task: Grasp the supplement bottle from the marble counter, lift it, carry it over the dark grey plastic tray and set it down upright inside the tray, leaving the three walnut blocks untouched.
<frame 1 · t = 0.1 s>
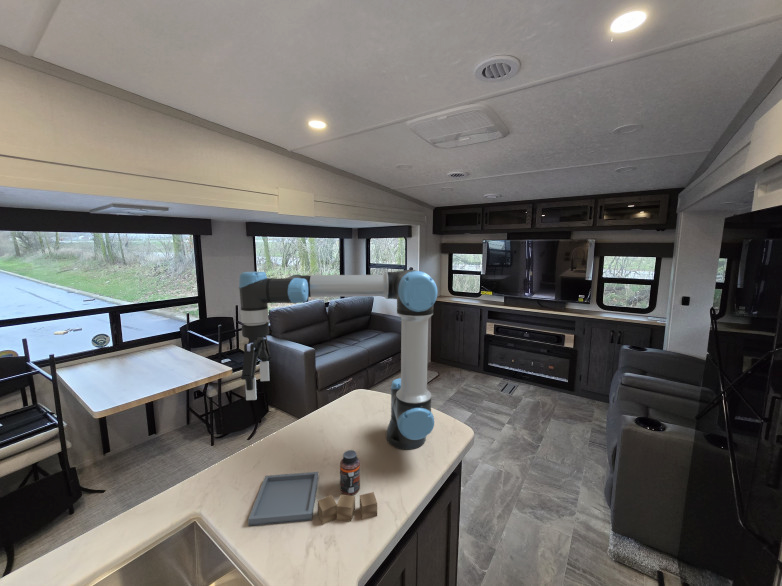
hand: (258, 389, 97), 28 cm above the counter, fingers open, 13 cm apart
block c: (327, 516, 84), on the counter, touching block b
block b: (346, 514, 84), on the counter, touching block c
tray: (287, 499, 89), on the counter
supplement bottle: (350, 489, 93), on the counter
block a: (368, 512, 85), on the counter
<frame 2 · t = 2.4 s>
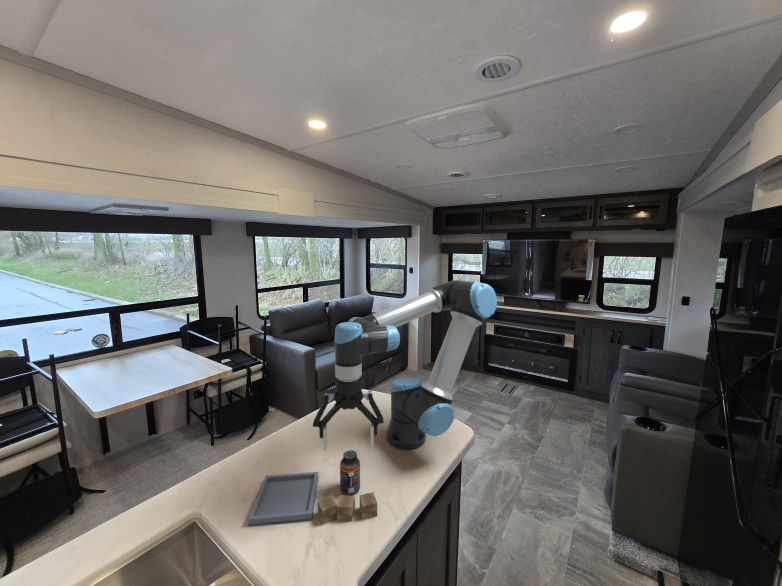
hand: (348, 446, 91), 14 cm above the counter, fingers open, 13 cm apart
nothing on the counter moved.
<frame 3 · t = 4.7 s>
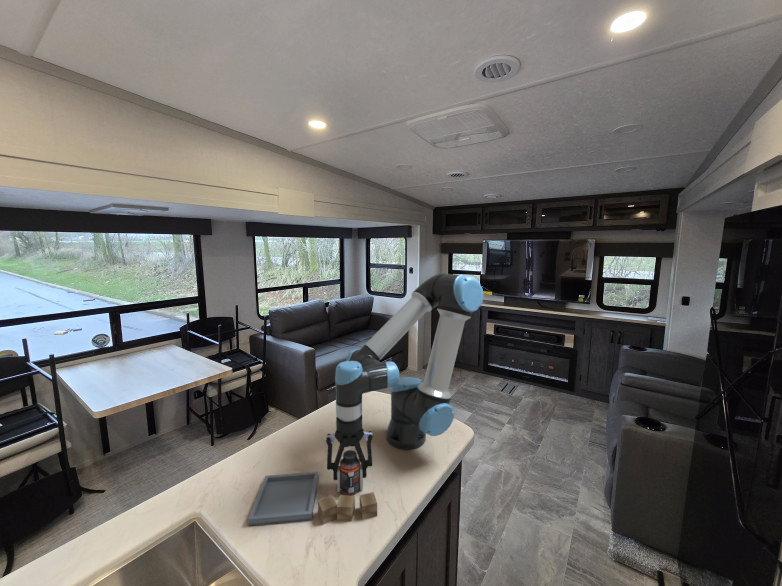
hand: (350, 487, 93), 0 cm above the counter, fingers closed on supplement bottle, 6 cm apart
block c: (327, 516, 84), on the counter
block b: (346, 514, 84), on the counter
supplement bottle: (350, 489, 93), on the counter, touching gripper
everything else where it was.
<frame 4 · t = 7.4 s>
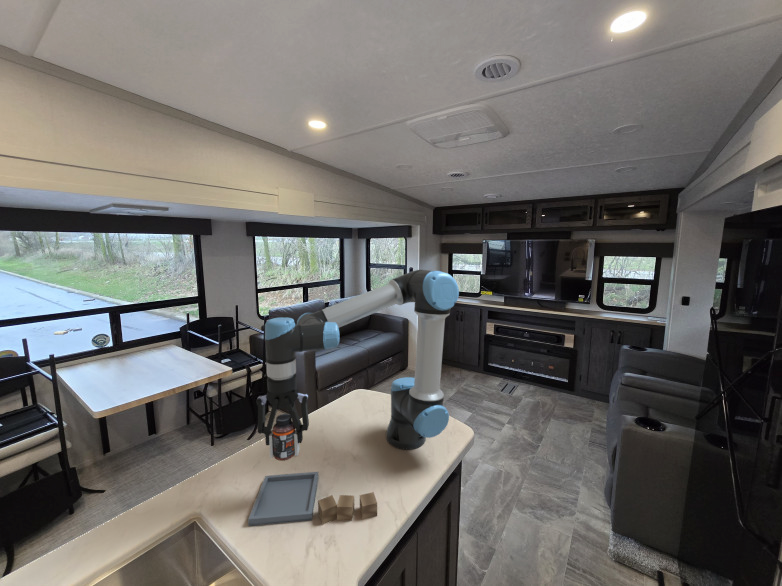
hand: (285, 453, 87), 14 cm above the counter, fingers closed on supplement bottle, 6 cm apart
supplement bottle: (285, 455, 87), point 14 cm above the counter, touching gripper
everything else where it was.
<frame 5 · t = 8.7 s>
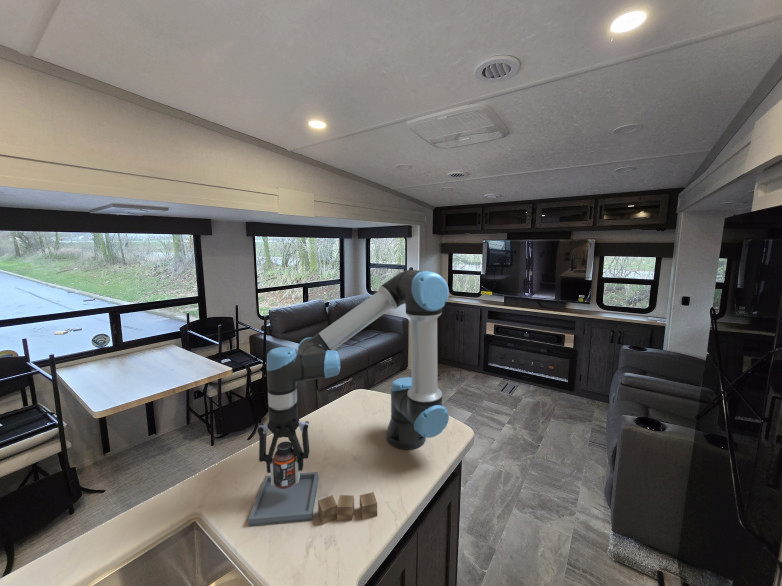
hand: (285, 480, 88), 6 cm above the counter, fingers closed on supplement bottle, 6 cm apart
supplement bottle: (285, 482, 88), point 5 cm above the counter, touching gripper
everything else where it was.
when the fingers open (3 cm above the counter, at t = 10.0 s): supplement bottle drops 2 cm, resting on tray.
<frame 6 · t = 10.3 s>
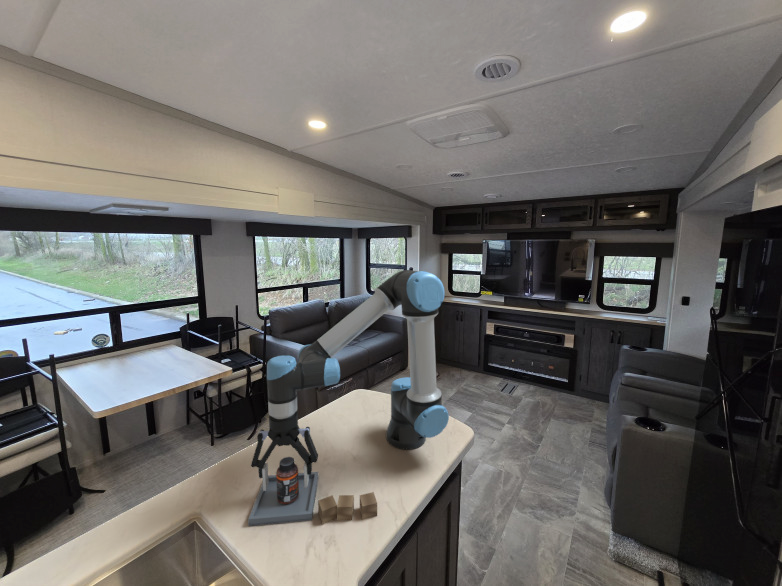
hand: (286, 485, 89), 4 cm above the counter, fingers open, 10 cm apart
supplement bottle: (288, 498, 89), resting on tray
everything else where it was.
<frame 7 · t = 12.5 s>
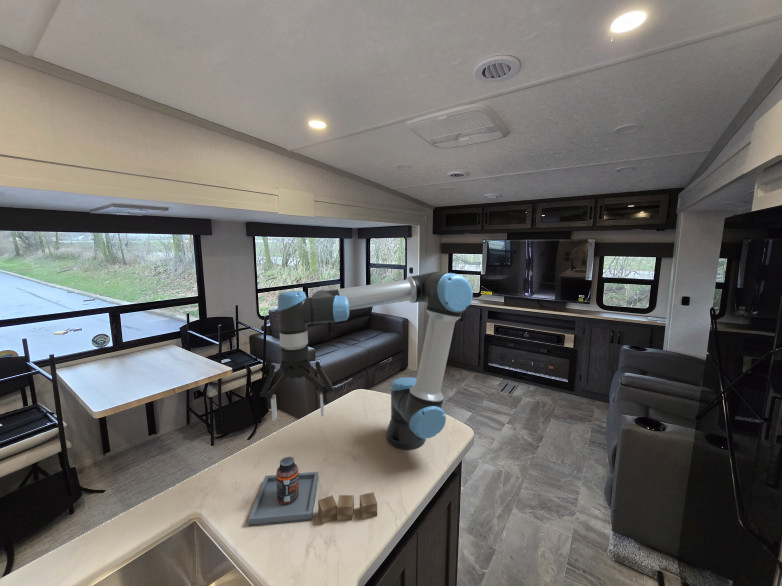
hand: (299, 416, 91), 23 cm above the counter, fingers open, 13 cm apart
nothing on the counter moved.
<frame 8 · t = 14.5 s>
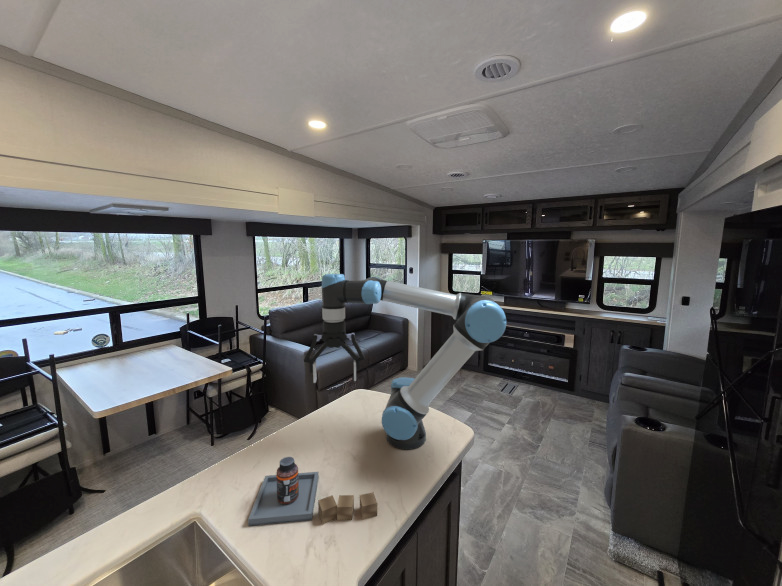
hand: (335, 380, 107), 27 cm above the counter, fingers open, 13 cm apart
nothing on the counter moved.
at the end: supplement bottle inside the target area on the tray (0.4 cm from its centre), point 0.4 cm above the tray's base; supplement bottle tilted 0°; the gripper is holding nothing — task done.
